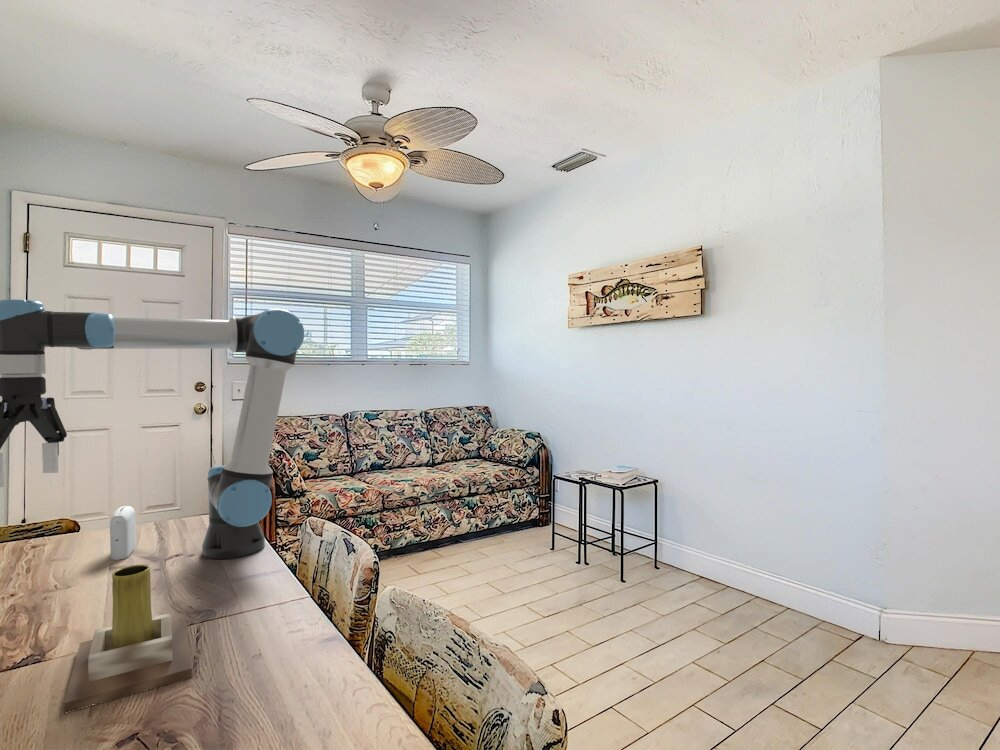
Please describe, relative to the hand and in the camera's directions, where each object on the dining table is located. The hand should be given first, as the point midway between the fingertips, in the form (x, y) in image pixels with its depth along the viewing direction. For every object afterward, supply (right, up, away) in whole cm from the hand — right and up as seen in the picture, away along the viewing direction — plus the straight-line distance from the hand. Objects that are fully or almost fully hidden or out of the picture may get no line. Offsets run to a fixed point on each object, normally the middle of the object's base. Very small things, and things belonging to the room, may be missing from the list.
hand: (24, 479), depth 110 cm
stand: (+36, -27, -20) cm, 49 cm away
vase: (+36, -26, -20) cm, 49 cm away
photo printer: (-2, -26, +32) cm, 42 cm away
